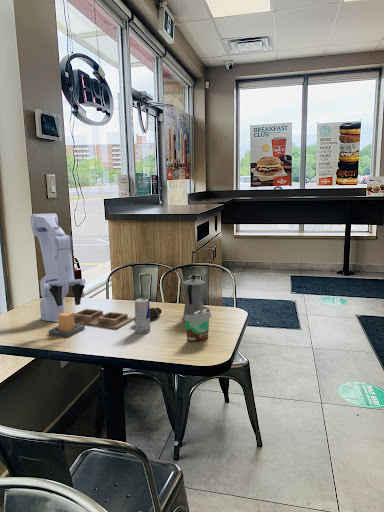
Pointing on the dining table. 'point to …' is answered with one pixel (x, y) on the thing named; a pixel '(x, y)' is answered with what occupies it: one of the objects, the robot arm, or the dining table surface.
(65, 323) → the orange peg
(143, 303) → the energy drink
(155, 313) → the bolt
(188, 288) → the coffeepot
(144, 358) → the dining table surface
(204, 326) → the food container
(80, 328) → the metal socket
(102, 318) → the walnut rack
